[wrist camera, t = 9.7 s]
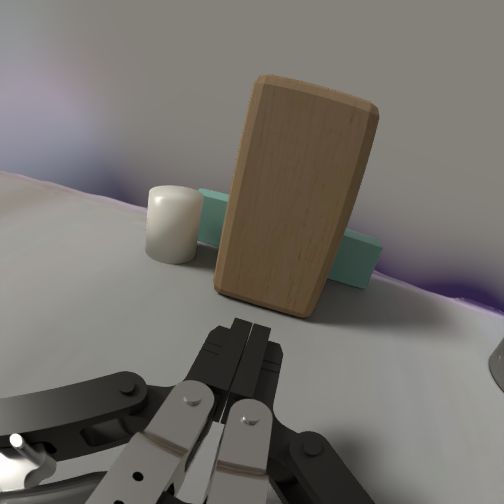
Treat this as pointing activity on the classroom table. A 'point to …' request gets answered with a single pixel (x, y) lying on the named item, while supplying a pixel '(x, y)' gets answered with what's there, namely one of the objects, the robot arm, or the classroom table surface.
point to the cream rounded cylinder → (173, 223)
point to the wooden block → (292, 192)
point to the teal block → (346, 261)
